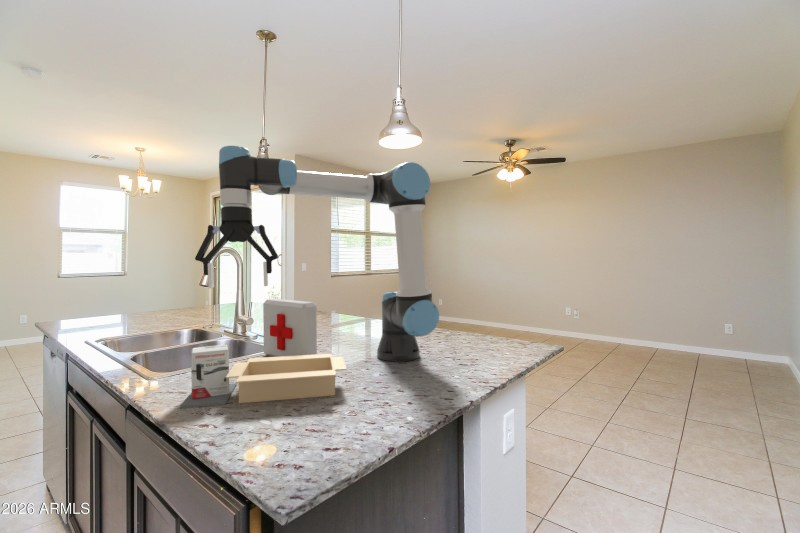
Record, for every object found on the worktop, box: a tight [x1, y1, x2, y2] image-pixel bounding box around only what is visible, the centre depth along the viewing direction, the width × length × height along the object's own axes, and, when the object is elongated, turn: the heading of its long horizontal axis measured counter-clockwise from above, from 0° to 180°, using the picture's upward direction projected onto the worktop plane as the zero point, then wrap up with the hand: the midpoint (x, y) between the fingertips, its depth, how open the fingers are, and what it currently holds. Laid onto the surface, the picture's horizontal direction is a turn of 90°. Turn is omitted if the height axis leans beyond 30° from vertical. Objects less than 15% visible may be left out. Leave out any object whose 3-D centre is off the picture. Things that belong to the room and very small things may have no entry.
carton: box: [226, 353, 347, 404], centre depth 101 cm, size 29×20×6 cm
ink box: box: [190, 344, 230, 399], centre depth 96 cm, size 8×5×12 cm, turn 118°
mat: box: [179, 383, 237, 409], centre depth 96 cm, size 10×13×1 cm
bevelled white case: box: [262, 298, 318, 357], centre depth 131 cm, size 21×8×20 cm, turn 58°
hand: (239, 286), depth 101 cm, fingers open, 13 cm apart
